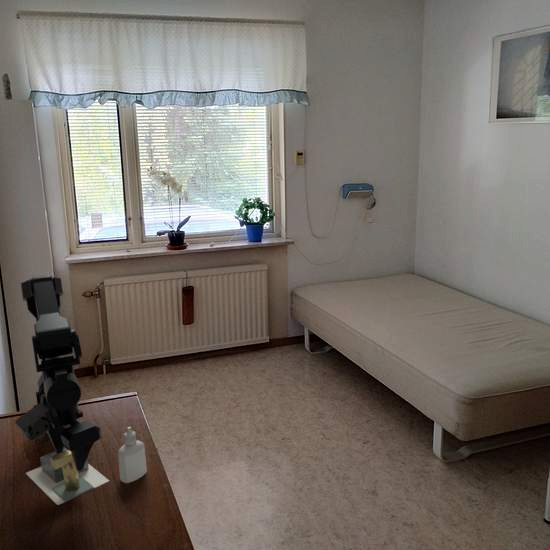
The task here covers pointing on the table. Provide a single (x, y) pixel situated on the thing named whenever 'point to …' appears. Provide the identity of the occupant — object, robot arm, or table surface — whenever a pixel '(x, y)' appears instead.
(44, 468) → the grey square frame
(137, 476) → the eye dropper bottle
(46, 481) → the board
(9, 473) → the table surface
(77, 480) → the tan flat lever
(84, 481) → the mat
